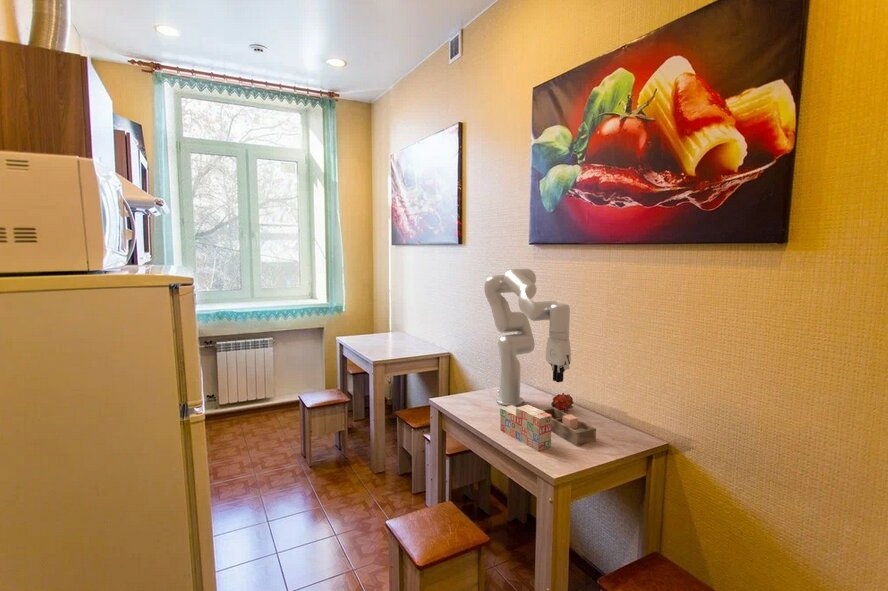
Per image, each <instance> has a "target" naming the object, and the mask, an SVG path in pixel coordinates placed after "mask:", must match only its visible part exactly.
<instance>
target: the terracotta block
mask: <svg viewBox="0 0 888 591" xmlns="http://www.w3.org/2000/svg"><path fill="white" fill-rule="evenodd" d="M578 420H579V418H578V416H577V417H576V416H575V415H572V414H571V413H570V414H568V415H565V416H563V417H562V424H564V425H566V426H568V427H570V428H572V429H576V428H578Z"/></svg>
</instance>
